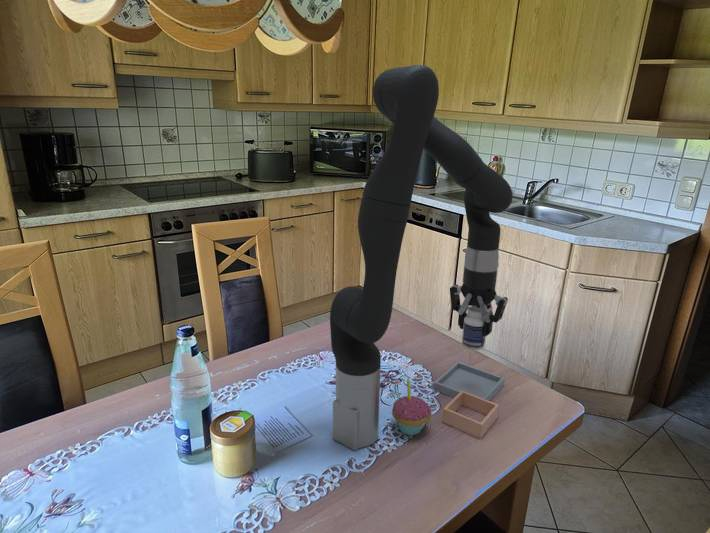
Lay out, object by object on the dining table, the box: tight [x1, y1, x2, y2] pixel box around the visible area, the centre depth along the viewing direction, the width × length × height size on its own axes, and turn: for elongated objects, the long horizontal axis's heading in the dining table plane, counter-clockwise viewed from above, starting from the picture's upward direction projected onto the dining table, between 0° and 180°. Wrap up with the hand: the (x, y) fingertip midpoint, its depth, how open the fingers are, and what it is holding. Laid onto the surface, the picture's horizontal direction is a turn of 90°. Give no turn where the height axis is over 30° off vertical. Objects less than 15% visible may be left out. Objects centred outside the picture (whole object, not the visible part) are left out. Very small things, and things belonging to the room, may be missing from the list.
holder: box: [442, 391, 500, 440], centre depth 109 cm, size 9×9×4 cm
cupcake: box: [391, 376, 432, 436], centre depth 105 cm, size 9×8×12 cm
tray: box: [433, 361, 505, 402], centre depth 122 cm, size 13×13×2 cm
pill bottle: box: [461, 306, 486, 351], centre depth 117 cm, size 5×5×10 cm
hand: (474, 331), depth 117 cm, fingers closed on pill bottle, 5 cm apart
